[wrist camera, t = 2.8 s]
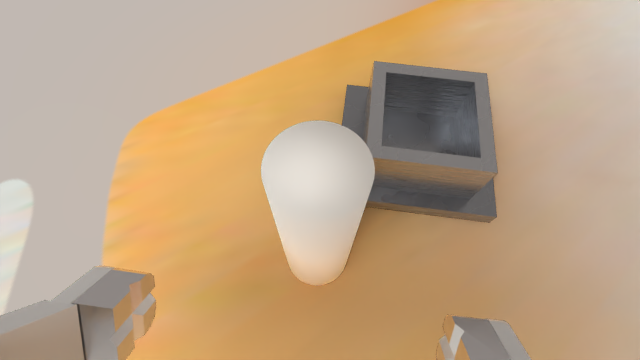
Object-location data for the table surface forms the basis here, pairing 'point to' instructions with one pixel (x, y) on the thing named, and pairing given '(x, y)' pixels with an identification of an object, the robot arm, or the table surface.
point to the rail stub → (317, 195)
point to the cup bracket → (427, 140)
